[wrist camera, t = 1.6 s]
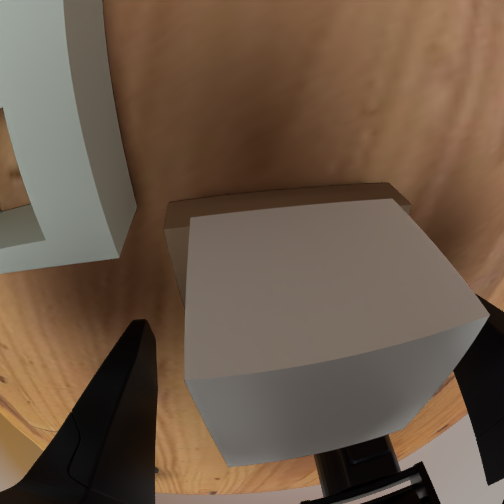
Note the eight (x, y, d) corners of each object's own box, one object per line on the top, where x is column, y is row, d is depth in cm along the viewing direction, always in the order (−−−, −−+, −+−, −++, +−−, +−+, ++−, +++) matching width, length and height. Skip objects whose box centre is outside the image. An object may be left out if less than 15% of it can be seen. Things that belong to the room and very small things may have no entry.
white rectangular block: (361, 326, 11) (403, 428, 8) (217, 349, 11) (228, 467, 7) (392, 198, 8) (490, 315, 5) (190, 217, 8) (183, 379, 4)
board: (346, 358, 16) (366, 415, 13) (214, 379, 15) (218, 441, 12) (388, 182, 10) (449, 244, 7) (169, 202, 9) (153, 282, 6)
